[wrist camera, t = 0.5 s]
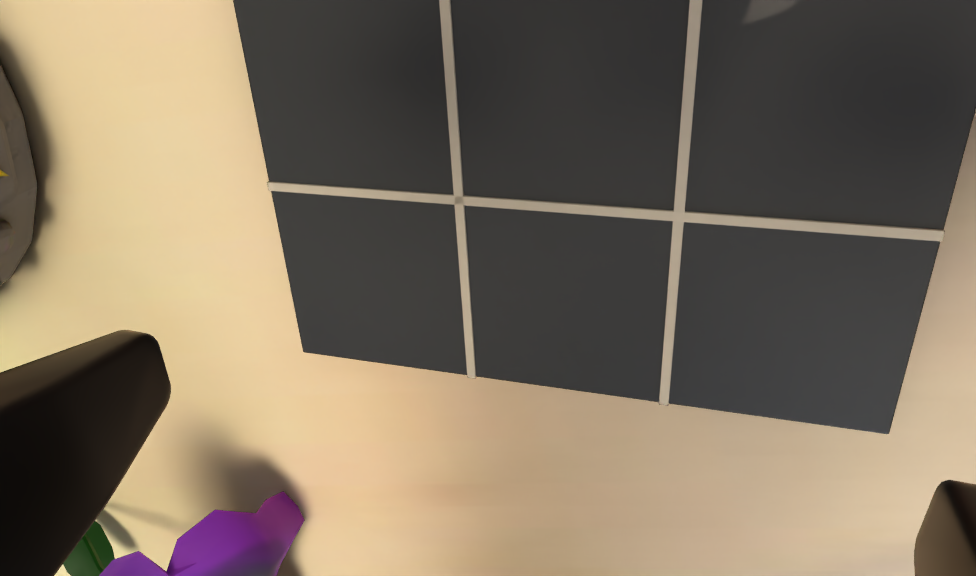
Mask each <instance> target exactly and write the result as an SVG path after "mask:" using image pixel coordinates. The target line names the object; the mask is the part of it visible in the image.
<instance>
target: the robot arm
mask: <svg viewBox="0 0 976 576" xmlns="http://www.w3.org/2000/svg"><path fill="white" fill-rule="evenodd" d="M170 394H171V385H170V381H169V377H168V374H167V370H166V367H165V364H164V360H163V357H162V353H161V350H160V347H159V344H158V342H157V340H156V339H155V338H154V337H153V336H151V335H150V334H146V333H141V332H135V331H130V330H120V331H116V332H114V333H111V334H108V335H105V336H102V337H99V338H97V339H94V340H91V341H88V342H85V343H83V344H80V345H77V346H74V347H71V348H68V349H66V350H63V351H60V352H57V353H54V354H52V355H49V356H46V357H43V358H40V359H38V360H35V361H32V362H29V363H26V364H23V365H21V366H18V367H15V368H12V369H9V370H7V371H4V372H1V373H0V576H54V575H55V574H56V572H57V571H58V570H59V568H60V567H61V566H62V564H63V563H64V562H65V560H66V559H67V558H68V556H69V555H70V553H71V552H72V551H73V549H74V548H75V547H76V545H77V544H78V543H79V541H80V540H81V539H82V537H83V536H84V535H85V533H86V532H87V531H88V529H89V528H90V526H91V525H92V524H93V522H94V521H95V520H96V518H97V517H98V515H99V514H100V513H101V511H102V510H103V508H104V507H105V506H106V504H107V503H108V501H109V499H110V498H111V496H112V495H113V493H114V492H115V490H116V488H117V487H118V485H119V484H120V482H121V480H122V479H123V477H124V475H125V474H126V472H127V470H128V469H129V467H130V465H131V464H132V462H133V460H134V459H135V457H136V455H137V454H138V452H139V450H140V449H141V447H142V446H143V444H144V442H145V441H146V439H147V437H148V436H149V434H150V432H151V431H152V429H153V427H154V426H155V424H156V422H157V421H158V419H159V417H160V416H161V414H162V412H163V411H164V409H165V407H166V406H167V404H168V401H169V398H170ZM914 566H915V576H976V485H975V484H970V483H964V482H959V481H953V480H947V481H944V482H941V484H940V485H939V486H938V487H937V489H936V491H935V493H934V495H933V498H932V500H931V503H930V505H929V508H928V510H927V513H926V515H925V518H924V520H923V523H922V525H921V528H920V530H919V533H918V535H917V539H916V543H915V550H914Z"/></svg>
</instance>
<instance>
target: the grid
mask: <svg viewBox="0 0 976 576" xmlns="http://www.w3.org/2000/svg"><path fill="white" fill-rule="evenodd" d="M233 2H234V7H235V12H236V17H237V22H238V27H239V32H240V37H241V42H242V47H243V52H244V57H245V62H246V67H247V72H248V77H249V82H250V87H251V92H252V97H253V102H254V107H255V112H256V117H257V122H258V127H259V132H260V137H261V142H262V147H263V152H264V157H265V162H266V167H267V172H268V177H269V181H268V182H267V185H268V189H269V191H271V192H272V197H273V202H274V207H275V212H276V217H277V222H278V227H279V232H280V237H281V242H282V247H283V252H284V257H285V262H286V267H287V272H288V277H289V282H290V287H291V292H292V297H293V302H294V307H295V312H296V317H297V322H298V327H299V332H300V337H301V342H302V347H303V352H306V353H314V354H321V355H328V356H335V357H342V358H349V359H356V360H363V361H371V362H378V363H385V364H392V365H399V366H406V367H413V368H420V369H427V370H435V371H442V372H449V373H456V374H463V375H467V377H468V378H476V376H477V377H484V378H492V379H499V380H506V381H513V382H520V383H527V384H534V385H541V386H548V387H556V388H563V389H570V390H577V391H584V392H591V393H598V394H605V395H613V396H620V397H627V398H634V399H641V400H648V401H655V402H659V405H666V406H668V404H677V405H684V406H691V407H698V408H705V409H712V410H719V411H726V412H734V413H741V414H748V415H755V416H762V417H769V418H776V419H783V420H791V421H798V422H805V423H812V424H819V425H826V426H833V427H840V428H847V429H855V430H862V431H869V432H876V433H883V434H889V432H890V428H891V424H892V420H893V417H894V413H895V409H896V405H897V402H898V398H899V394H900V390H901V387H902V383H903V379H904V375H905V372H906V368H907V364H908V361H909V357H910V353H911V349H912V346H913V342H914V338H915V334H916V331H917V327H918V323H919V319H920V316H921V312H922V308H923V304H924V301H925V297H926V293H927V289H928V286H929V282H930V278H931V274H932V271H933V267H934V263H935V259H936V256H937V252H938V248H939V244H940V241H941V242H942V240H943V236H944V232H945V231H944V230H943V229H944V226H945V222H946V218H947V214H948V211H949V207H950V203H951V199H952V196H953V192H954V188H955V184H956V181H957V177H958V173H959V169H960V166H961V162H962V158H963V154H964V151H965V147H966V143H967V139H968V136H969V132H970V128H971V124H972V121H973V117H974V113H975V109H976V0H233Z"/></svg>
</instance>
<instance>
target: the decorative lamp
mask: <svg viewBox="0 0 976 576" xmlns="http://www.w3.org/2000/svg"><path fill="white" fill-rule="evenodd" d="M36 194H37V180H36V174H35V170H34V165H33V160H32V155H31V151H30V146H29V141H28V136H27V132H26V127H25V122H24V117H23V113H22V110H21V108H20V106H19V104H18V101H17V99H16V97H15V95H14V93H13V91H12V88H11V86H10V84H9V82H8V80H7V77H6V75H5V73H4V71H3V69H2V67H1V64H0V287H1V285H2V283H3V282H5V281H7V280H9V279H10V278H11V276H12V274H13V273H14V271H15V269H16V268H17V266H18V264H19V263H20V261H21V259H22V258H23V256H24V254H25V252H26V251H27V249H28V247H29V246H30V244H31V242H32V236H33V225H34V215H35V204H36Z"/></svg>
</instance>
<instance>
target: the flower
mask: <svg viewBox="0 0 976 576" xmlns="http://www.w3.org/2000/svg"><path fill="white" fill-rule="evenodd" d="M303 522H304V518H303V516H302V514H301V512H300V510H299V508H298V506H297V505H296V504H295V503H294V502H293V501H292V500H291V499H290V498H289V497H288V496H287V495H286V493H285V492H284V491H283V492H281V493H278V494H276V495H274V496H272V497H270V498H268V499H266V500H265V501H264V503H263V504H262V506H261V507H260V508H259V510H258V511H257V513H248V512H236V511H224V510H214V511H213V512H211V513H210V514H209V515H208V516H206V517H205V518H204V519H203V520H201V521H200V522H199V523H198V524H196V525H195V526H194V527H193V528H191V529H190V530H189V531H187V532H186V533H185V534H184V535H182V536H181V537H180V538H179V539H177V542H176V545H175V548H174V551H173V554H172V557H171V560H170V563H169V566H168V569H167V572H166V571H165V570H164V569H162V568H161V567H160V566H158V565H157V564H156V563H154V562H153V561H151V560H150V559H149V558H147V557H146V556H145V555H143V554H142V553H141V552H139V551H137V552H134V553H132V554H129V555H126V556H123V557H120V558H117V559H115V558H114V553H113V549H112V546H111V544H110V542H109V540H108V539H107V537H106V535H105V533H104V531H103V529H102V527H101V525H99V524H98V523H97V522H95V521H94V522H93V524H92V525H91V526H90V528H89V529H88V531H87V532H86V533H85V535H84V536H83V537H82V539H81V540H80V541H79V543H78V544H77V545H76V547H75V548H74V549H73V551H72V552H71V553H70V555H69V556H68V558H67V559H66V560H65V562H64V563H63V565H64V566H65V568H66V570H67V572H68V573H69V574H70V575H71V576H277V574H278V570H279V567H280V565H281V563H282V561H283V559H284V557H285V555H286V554H287V552H288V550H289V548H290V546H291V544H292V542H293V540H294V538H295V537H296V535H297V533H298V531H299V529H300V528H301V526H302V524H303Z"/></svg>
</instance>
